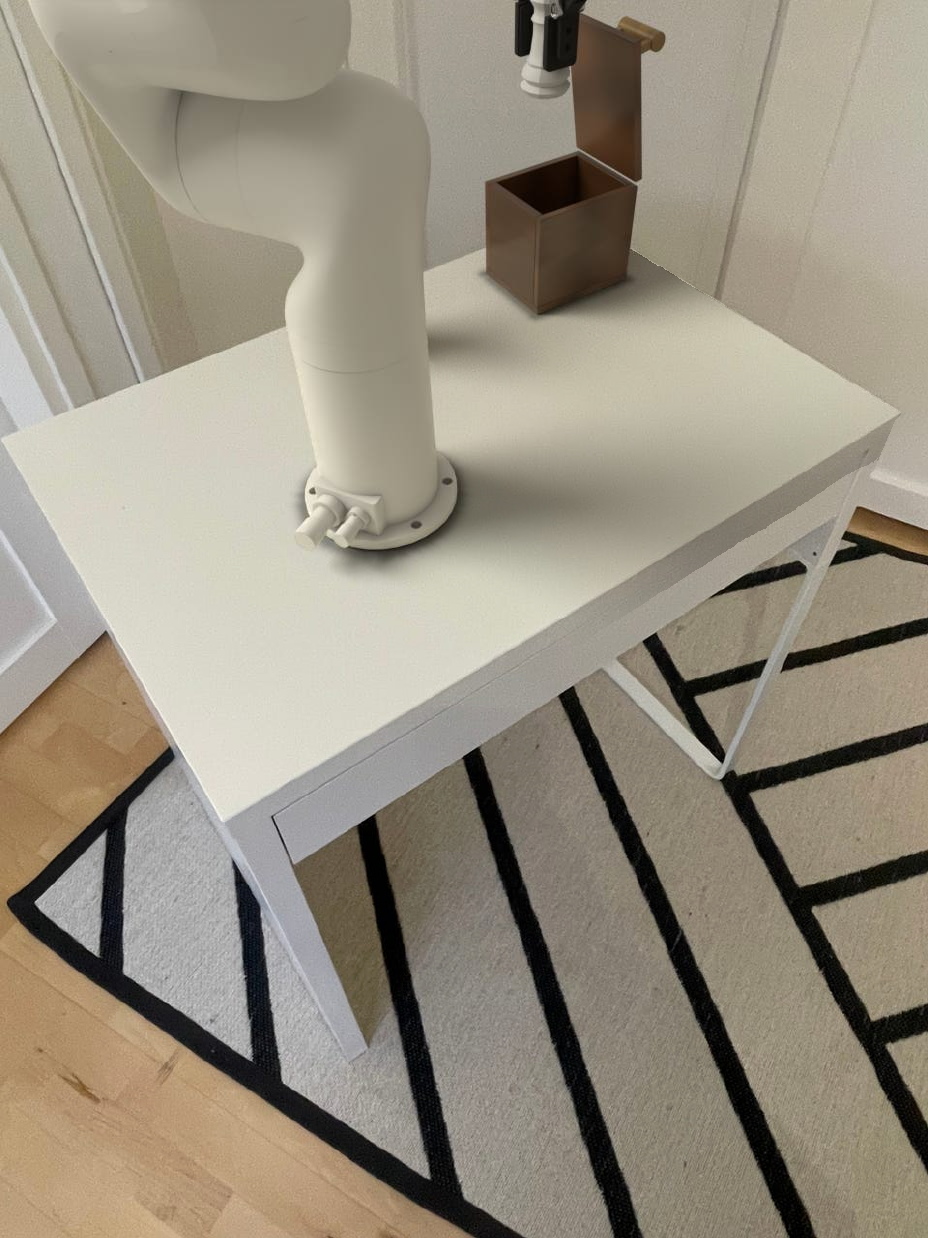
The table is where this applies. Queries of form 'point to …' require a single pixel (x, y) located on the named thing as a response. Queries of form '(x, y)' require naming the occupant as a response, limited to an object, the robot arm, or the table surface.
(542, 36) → the rook chess piece
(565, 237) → the chest
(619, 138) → the lid
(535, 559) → the table surface
